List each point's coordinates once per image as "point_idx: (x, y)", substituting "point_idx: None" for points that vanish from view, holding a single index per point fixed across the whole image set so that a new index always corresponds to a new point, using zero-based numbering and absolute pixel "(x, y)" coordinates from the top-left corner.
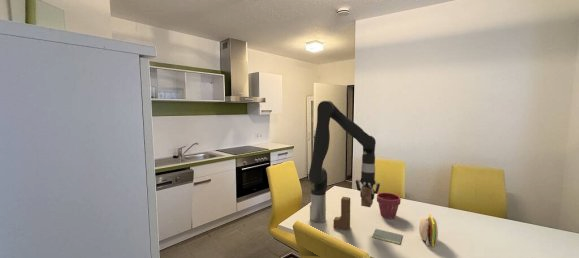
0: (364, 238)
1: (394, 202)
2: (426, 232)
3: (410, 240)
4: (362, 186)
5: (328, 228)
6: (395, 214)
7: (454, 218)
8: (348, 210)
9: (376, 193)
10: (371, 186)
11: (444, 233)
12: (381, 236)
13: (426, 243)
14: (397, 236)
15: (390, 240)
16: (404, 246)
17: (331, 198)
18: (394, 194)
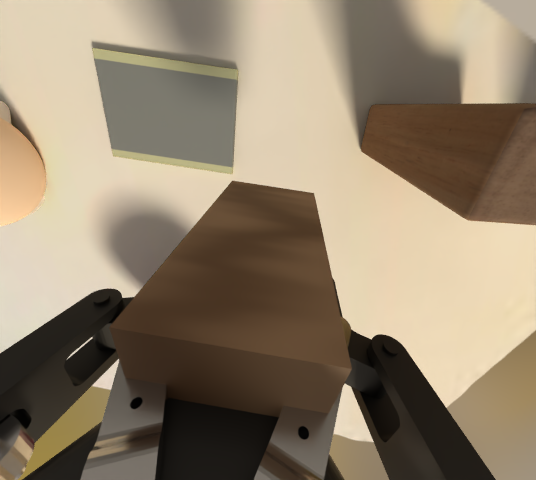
0: (275, 35)
1: None
2: None
3: (74, 122)
4: (329, 405)
5: (500, 76)
6: None
7: (27, 333)
8: (433, 105)
9: (102, 290)
10: (107, 415)
11: (4, 232)
12: (191, 92)
13: (4, 110)
14: (125, 127)
15: (141, 63)
16: (74, 38)
17: (434, 378)
18: None
